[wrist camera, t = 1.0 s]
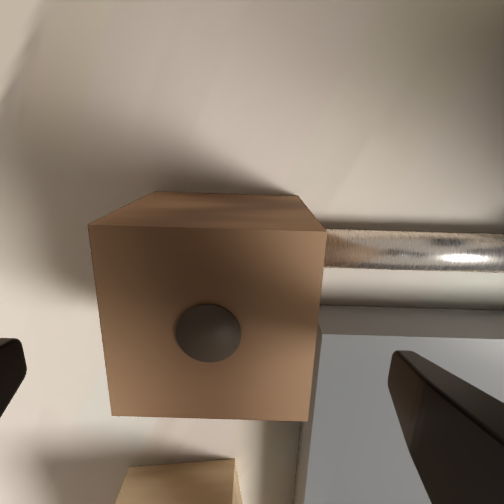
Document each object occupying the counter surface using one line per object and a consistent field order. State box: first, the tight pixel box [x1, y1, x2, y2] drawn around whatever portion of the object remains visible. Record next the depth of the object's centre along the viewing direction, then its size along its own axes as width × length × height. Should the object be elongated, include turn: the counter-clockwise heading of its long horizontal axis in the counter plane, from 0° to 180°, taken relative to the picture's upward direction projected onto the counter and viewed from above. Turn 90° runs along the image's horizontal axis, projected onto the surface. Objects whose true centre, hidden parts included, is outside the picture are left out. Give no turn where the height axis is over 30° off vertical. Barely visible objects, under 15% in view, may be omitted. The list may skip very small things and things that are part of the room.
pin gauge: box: [324, 229, 504, 273], centre depth 13 cm, size 12×2×2 cm, turn 88°
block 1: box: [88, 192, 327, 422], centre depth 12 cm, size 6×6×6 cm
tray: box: [293, 305, 504, 504], centre depth 17 cm, size 16×16×2 cm
